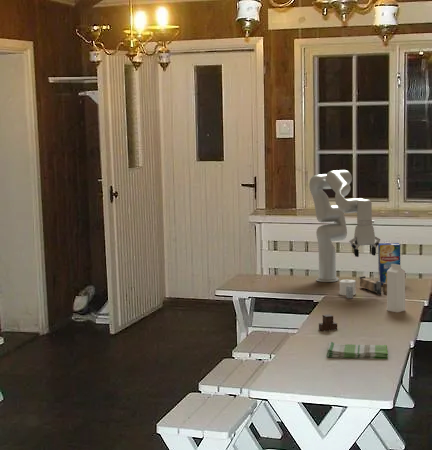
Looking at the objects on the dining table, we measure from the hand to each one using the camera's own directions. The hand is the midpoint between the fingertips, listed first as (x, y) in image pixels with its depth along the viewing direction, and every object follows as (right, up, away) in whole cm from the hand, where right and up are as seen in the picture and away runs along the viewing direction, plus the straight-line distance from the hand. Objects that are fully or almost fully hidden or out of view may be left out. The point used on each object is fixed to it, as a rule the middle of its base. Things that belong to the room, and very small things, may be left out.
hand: (365, 255), depth 438 cm
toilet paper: (-8, -20, 0) cm, 22 cm away
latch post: (-10, -21, -12) cm, 26 cm away
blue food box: (+17, -16, +22) cm, 32 cm away
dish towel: (-23, -34, -113) cm, 121 cm away
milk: (+7, -24, -44) cm, 50 cm away
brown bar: (+3, -18, +5) cm, 19 cm away
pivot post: (+6, -19, -4) cm, 21 cm away
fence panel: (+13, -19, -2) cm, 23 cm away
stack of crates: (-29, -30, -77) cm, 88 cm away
